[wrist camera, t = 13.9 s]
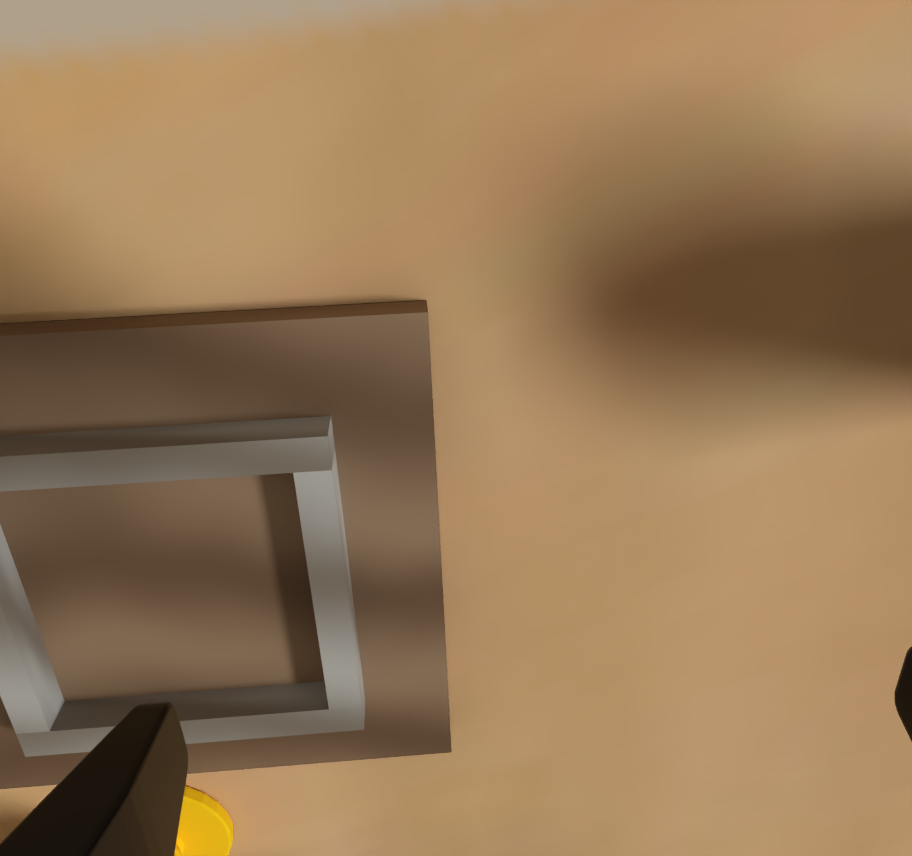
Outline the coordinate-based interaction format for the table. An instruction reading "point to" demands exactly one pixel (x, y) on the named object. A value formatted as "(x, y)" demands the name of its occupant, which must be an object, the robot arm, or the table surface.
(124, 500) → the socket board
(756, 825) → the table surface
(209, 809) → the candle
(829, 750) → the table surface
